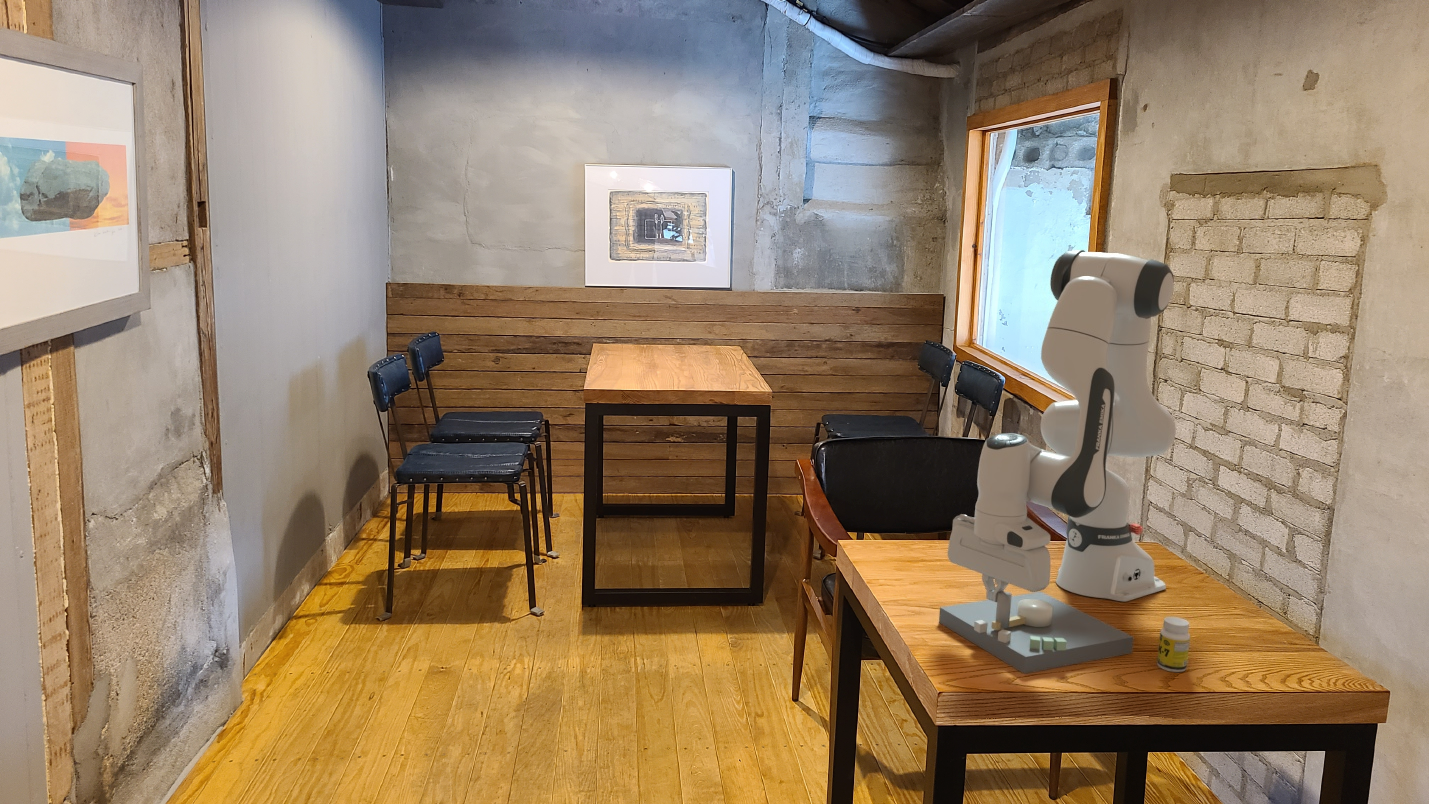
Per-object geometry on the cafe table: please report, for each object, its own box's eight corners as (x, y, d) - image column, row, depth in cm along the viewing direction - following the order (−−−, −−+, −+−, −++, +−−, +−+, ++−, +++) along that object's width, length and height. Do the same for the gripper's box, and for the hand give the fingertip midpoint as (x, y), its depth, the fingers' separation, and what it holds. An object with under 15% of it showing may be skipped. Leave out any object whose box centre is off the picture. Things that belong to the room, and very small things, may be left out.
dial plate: (1039, 606, 215) (1041, 583, 214) (1133, 653, 193) (1135, 629, 192) (935, 623, 205) (937, 599, 204) (1021, 675, 183) (1023, 649, 182)
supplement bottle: (1151, 661, 190) (1156, 615, 189) (1177, 661, 191) (1182, 615, 189) (1165, 673, 186) (1170, 626, 184) (1191, 672, 186) (1197, 626, 184)
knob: (1033, 612, 203) (1036, 578, 202) (1058, 623, 198) (1061, 589, 196) (981, 624, 196) (984, 589, 195) (1006, 636, 191) (1009, 600, 190)
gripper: (942, 514, 199) (937, 586, 202) (1035, 543, 183) (1028, 621, 186) (965, 509, 203) (960, 580, 206) (1058, 537, 187) (1051, 614, 190)
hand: (993, 600), depth 196 cm, fingers closed
